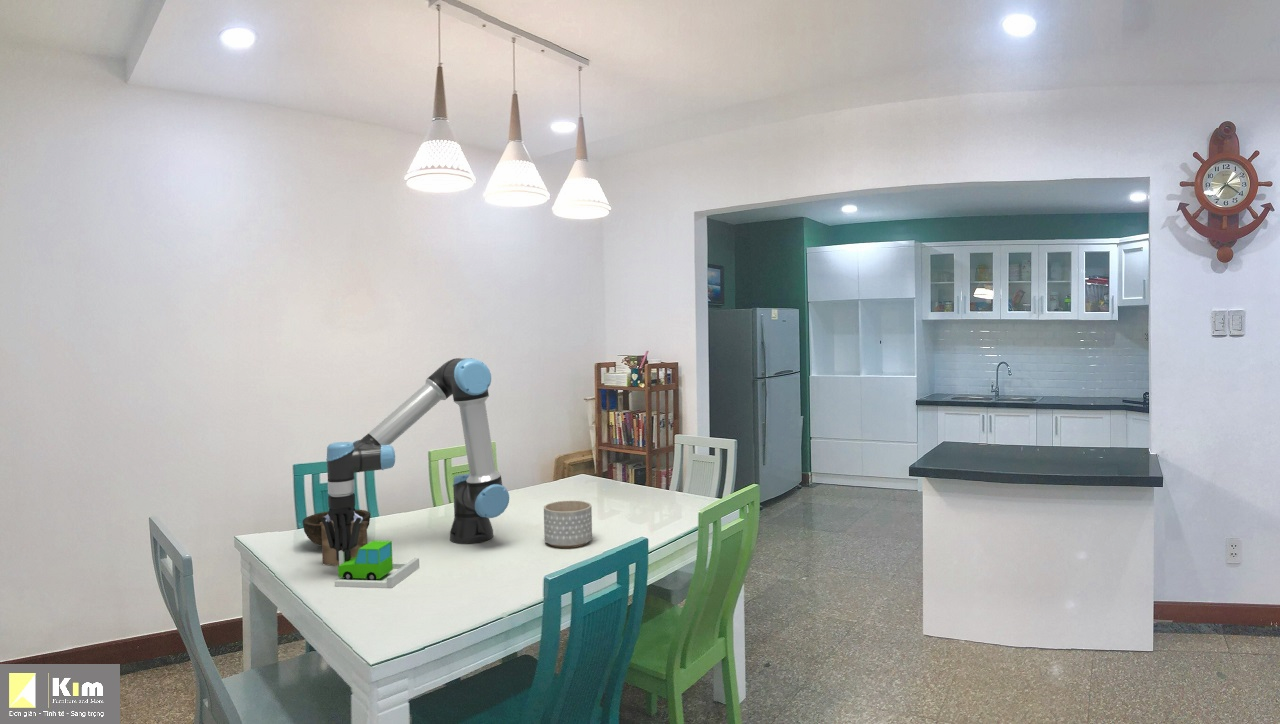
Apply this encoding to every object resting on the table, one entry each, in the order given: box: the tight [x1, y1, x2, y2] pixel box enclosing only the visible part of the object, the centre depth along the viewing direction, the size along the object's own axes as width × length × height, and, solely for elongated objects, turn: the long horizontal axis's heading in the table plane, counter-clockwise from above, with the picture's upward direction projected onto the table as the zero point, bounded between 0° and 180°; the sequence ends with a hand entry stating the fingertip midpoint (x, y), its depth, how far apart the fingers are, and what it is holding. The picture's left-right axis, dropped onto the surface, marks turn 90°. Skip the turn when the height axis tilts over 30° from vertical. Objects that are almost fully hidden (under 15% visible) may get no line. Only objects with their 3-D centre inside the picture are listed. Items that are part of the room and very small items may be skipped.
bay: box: [334, 557, 420, 589], centre depth 214 cm, size 18×18×3 cm
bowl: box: [302, 508, 371, 547], centre depth 248 cm, size 22×22×10 cm
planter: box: [543, 500, 593, 549], centre depth 246 cm, size 16×16×13 cm
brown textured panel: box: [320, 520, 368, 566], centre depth 226 cm, size 15×3×14 cm, turn 83°
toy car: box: [337, 540, 393, 581], centre depth 213 cm, size 10×13×10 cm
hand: (344, 571), depth 216 cm, fingers closed
